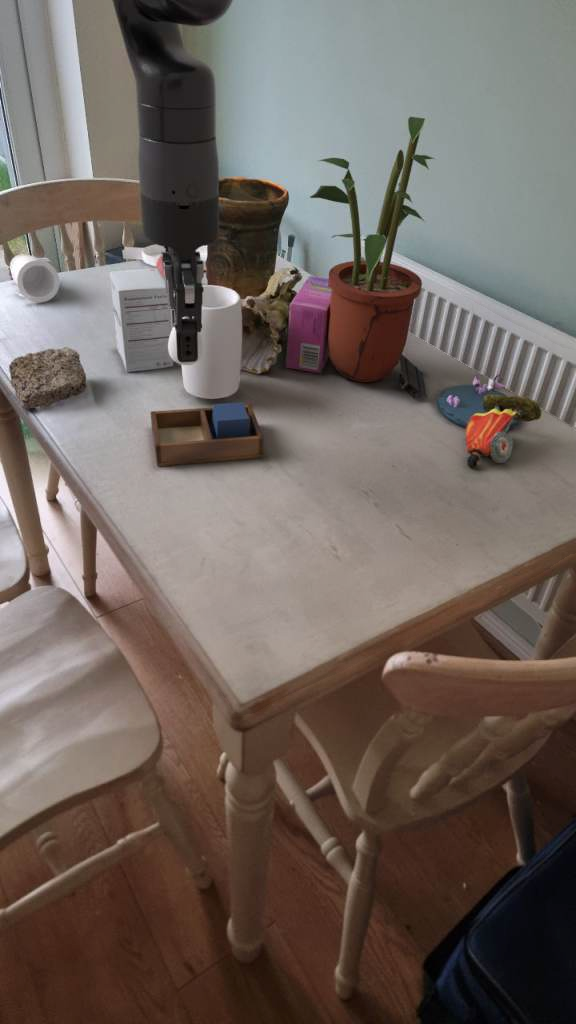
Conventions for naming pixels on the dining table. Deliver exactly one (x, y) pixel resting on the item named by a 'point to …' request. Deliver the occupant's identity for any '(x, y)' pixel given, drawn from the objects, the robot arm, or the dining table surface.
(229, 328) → the cup
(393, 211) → the potted plant
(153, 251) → the two-handled dish
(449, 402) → the blue flower bed
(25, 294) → the downlight
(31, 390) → the stone
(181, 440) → the sorter
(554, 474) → the dining table surface
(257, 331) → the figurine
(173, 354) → the egg
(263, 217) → the vessel
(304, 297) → the box
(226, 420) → the block
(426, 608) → the dining table surface
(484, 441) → the figurine
